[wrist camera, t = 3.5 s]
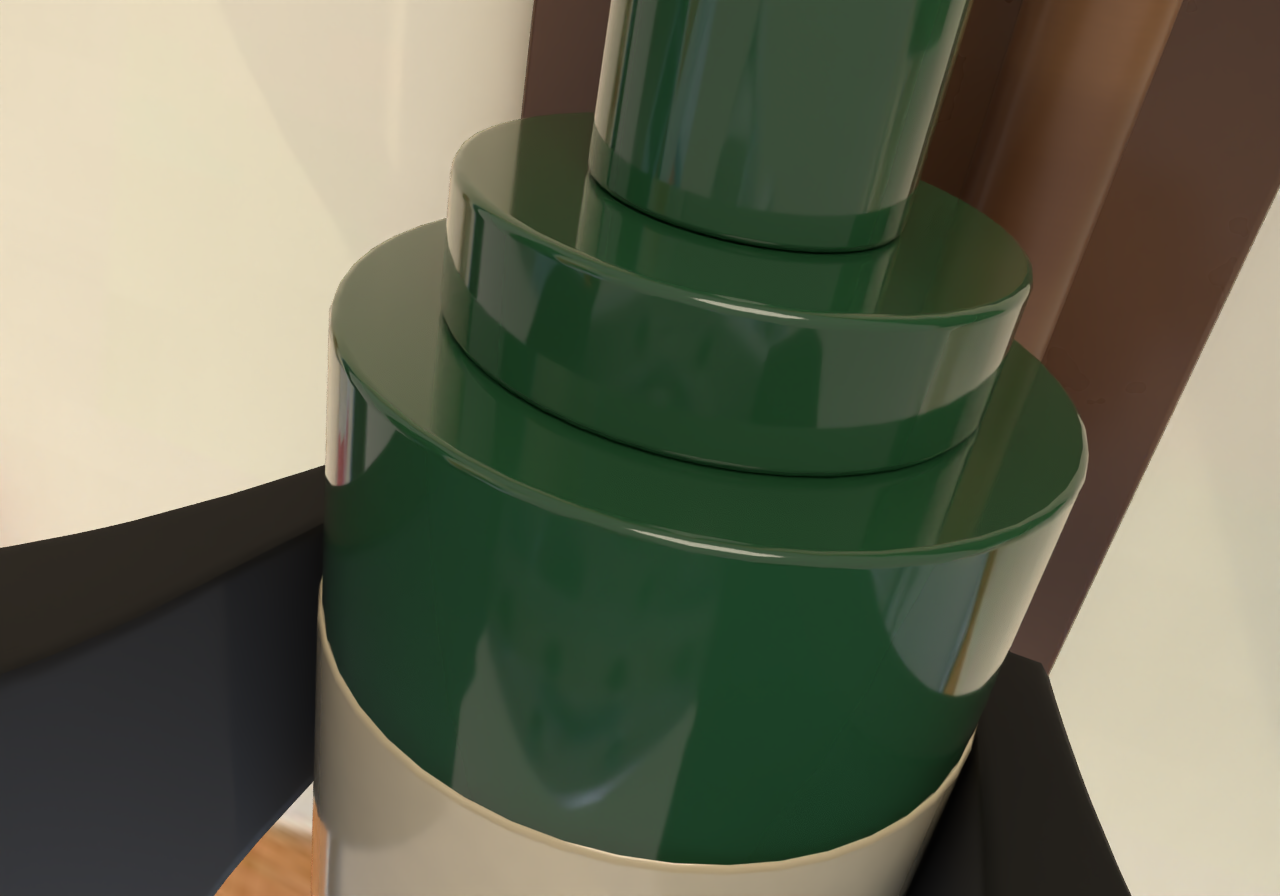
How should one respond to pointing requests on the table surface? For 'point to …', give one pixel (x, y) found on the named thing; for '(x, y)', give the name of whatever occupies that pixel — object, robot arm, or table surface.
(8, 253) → the table surface
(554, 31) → the rack
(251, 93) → the table surface
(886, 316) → the bottle
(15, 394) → the table surface
